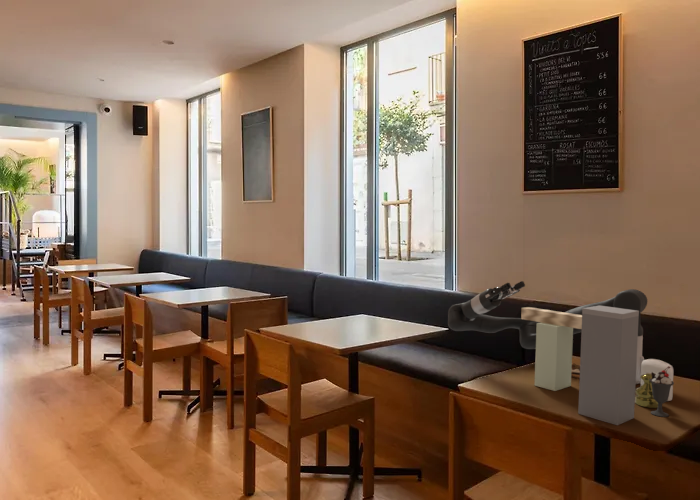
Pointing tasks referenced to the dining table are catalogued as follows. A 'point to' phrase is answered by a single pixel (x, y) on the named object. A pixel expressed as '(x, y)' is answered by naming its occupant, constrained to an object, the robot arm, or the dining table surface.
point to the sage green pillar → (553, 356)
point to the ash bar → (552, 317)
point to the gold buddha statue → (645, 393)
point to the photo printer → (657, 370)
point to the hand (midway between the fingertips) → (517, 284)
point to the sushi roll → (575, 371)
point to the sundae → (661, 390)
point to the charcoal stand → (608, 363)
